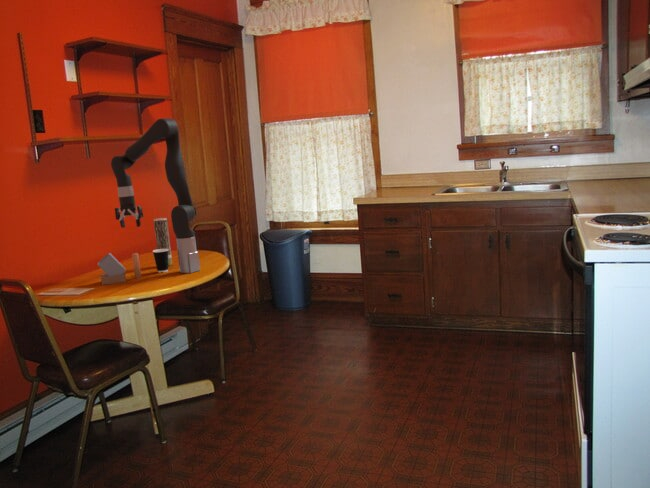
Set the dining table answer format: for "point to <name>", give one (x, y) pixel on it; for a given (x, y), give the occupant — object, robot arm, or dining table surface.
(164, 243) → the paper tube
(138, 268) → the dowel
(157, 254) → the dixie cup
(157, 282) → the dining table surface
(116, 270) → the socket
